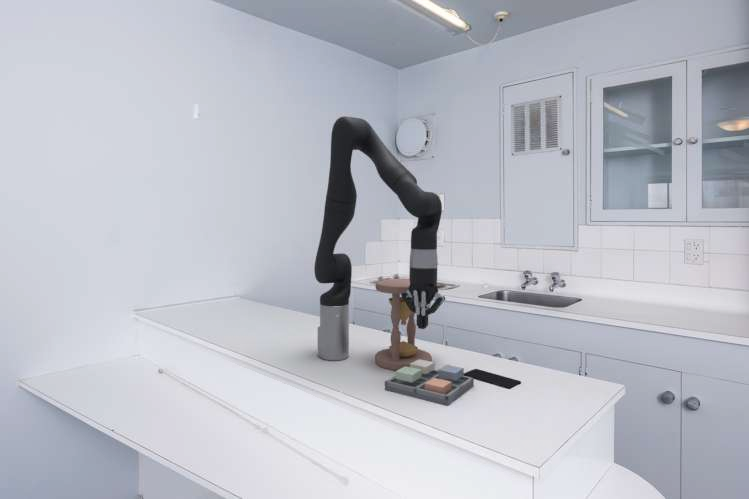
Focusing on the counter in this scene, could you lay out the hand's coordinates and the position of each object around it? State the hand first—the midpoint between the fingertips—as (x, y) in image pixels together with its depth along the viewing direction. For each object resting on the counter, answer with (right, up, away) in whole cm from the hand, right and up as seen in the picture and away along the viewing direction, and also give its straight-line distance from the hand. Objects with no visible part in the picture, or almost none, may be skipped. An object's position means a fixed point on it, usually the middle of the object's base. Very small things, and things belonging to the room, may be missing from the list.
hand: (422, 328), depth 129 cm
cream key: (0, -12, +1) cm, 12 cm away
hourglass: (-4, -14, +17) cm, 23 cm away
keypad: (+2, -15, -4) cm, 16 cm away
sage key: (-4, -12, -5) cm, 14 cm away
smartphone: (+20, -15, +3) cm, 25 cm away
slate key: (+7, -12, -4) cm, 15 cm away
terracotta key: (+3, -14, -10) cm, 17 cm away
